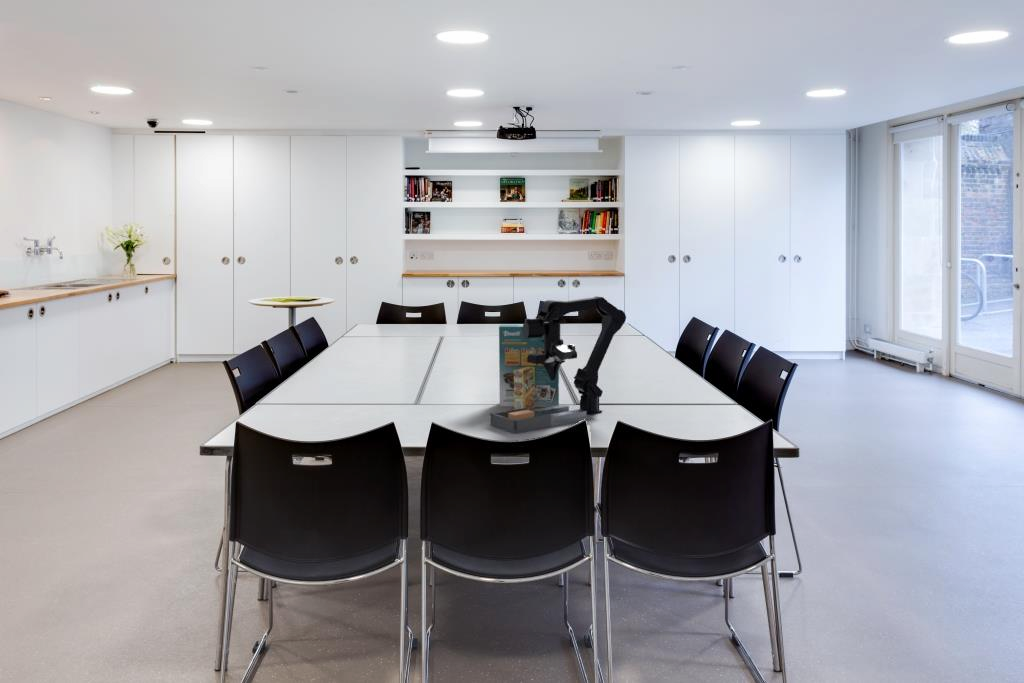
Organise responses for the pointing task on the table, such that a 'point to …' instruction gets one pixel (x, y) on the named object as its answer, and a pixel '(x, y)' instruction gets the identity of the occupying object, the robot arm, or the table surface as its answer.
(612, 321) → the robot arm
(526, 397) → the candy box
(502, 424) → the tray
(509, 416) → the tan cube
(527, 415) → the chip
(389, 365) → the table surface
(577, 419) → the slot board
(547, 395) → the teal product box
